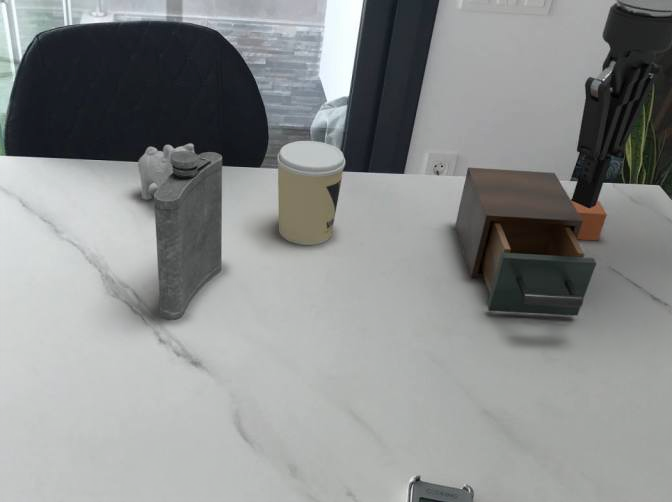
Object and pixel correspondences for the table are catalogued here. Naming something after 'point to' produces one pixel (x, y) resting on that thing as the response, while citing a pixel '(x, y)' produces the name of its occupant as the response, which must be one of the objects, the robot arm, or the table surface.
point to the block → (590, 221)
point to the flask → (188, 229)
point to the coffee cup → (308, 190)
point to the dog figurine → (157, 166)
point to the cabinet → (508, 207)
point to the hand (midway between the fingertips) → (583, 202)
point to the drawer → (535, 268)
